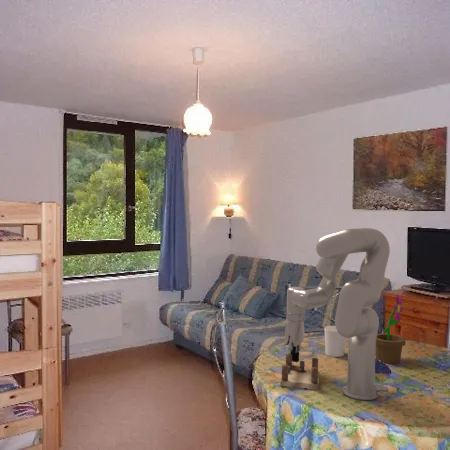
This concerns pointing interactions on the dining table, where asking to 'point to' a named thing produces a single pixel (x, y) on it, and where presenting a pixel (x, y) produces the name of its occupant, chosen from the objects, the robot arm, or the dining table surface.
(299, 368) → the hinged leg
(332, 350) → the white paper cup
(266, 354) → the dining table surface
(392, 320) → the flowerpot
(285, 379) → the stool
